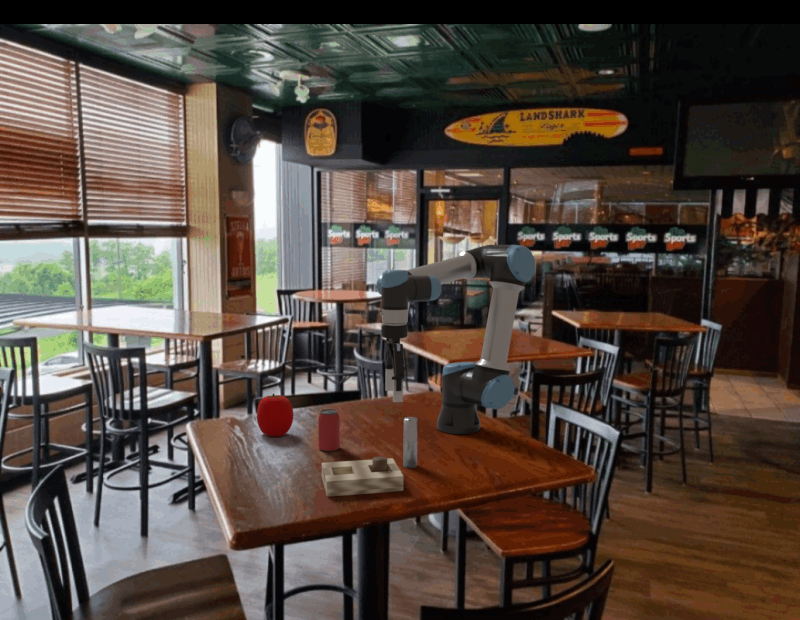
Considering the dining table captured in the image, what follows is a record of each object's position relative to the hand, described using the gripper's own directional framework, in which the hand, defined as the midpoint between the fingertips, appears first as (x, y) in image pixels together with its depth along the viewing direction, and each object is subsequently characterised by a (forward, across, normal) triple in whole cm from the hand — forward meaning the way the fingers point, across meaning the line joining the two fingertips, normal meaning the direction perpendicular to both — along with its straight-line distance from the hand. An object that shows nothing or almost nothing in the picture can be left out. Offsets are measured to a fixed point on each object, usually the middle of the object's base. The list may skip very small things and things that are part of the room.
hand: (393, 396), depth 188 cm
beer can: (+20, -16, -18) cm, 31 cm away
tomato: (+20, -33, -35) cm, 52 cm away
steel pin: (+20, +3, +4) cm, 21 cm away
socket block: (+20, +15, -11) cm, 27 cm away
